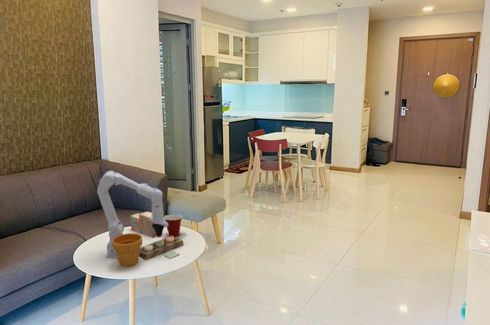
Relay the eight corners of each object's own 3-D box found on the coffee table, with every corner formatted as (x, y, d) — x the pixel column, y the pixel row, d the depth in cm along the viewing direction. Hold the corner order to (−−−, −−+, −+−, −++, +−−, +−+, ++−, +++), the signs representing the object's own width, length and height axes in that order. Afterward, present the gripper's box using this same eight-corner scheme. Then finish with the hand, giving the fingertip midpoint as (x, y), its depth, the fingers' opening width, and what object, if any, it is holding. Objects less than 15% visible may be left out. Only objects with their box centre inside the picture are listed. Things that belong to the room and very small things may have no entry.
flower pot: (120, 256, 193) (118, 233, 190) (147, 256, 192) (145, 233, 190) (109, 269, 179) (107, 244, 176) (138, 269, 178) (136, 244, 176)
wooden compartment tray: (146, 260, 188) (146, 254, 187) (135, 254, 195) (135, 249, 194) (183, 245, 206) (183, 240, 205) (172, 240, 212) (171, 235, 212)
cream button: (147, 254, 192) (147, 248, 191) (142, 251, 194) (142, 246, 194) (154, 251, 195) (154, 246, 194) (149, 248, 198) (149, 243, 197)
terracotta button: (169, 245, 202) (169, 240, 201) (164, 243, 205) (164, 238, 204) (176, 242, 205) (175, 237, 205) (171, 240, 208) (170, 235, 207)
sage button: (158, 249, 197) (158, 244, 196) (154, 247, 200) (153, 242, 199) (165, 246, 200) (165, 241, 199) (160, 244, 203) (160, 239, 202)
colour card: (170, 258, 189) (170, 257, 189) (163, 255, 193) (163, 254, 193) (179, 254, 194) (179, 254, 194) (172, 251, 198) (172, 250, 198)
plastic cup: (185, 232, 224) (184, 213, 222) (181, 239, 214) (180, 219, 211) (167, 232, 225) (166, 213, 223) (162, 239, 214) (161, 219, 212)
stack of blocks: (130, 230, 229) (129, 211, 227) (139, 227, 234) (137, 208, 232) (153, 238, 216) (151, 218, 214) (161, 234, 221) (160, 215, 219)
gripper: (172, 213, 194) (173, 237, 197) (156, 207, 204) (157, 231, 206) (161, 216, 189) (162, 241, 192) (144, 211, 198) (146, 235, 201)
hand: (159, 236), depth 199 cm, fingers closed
